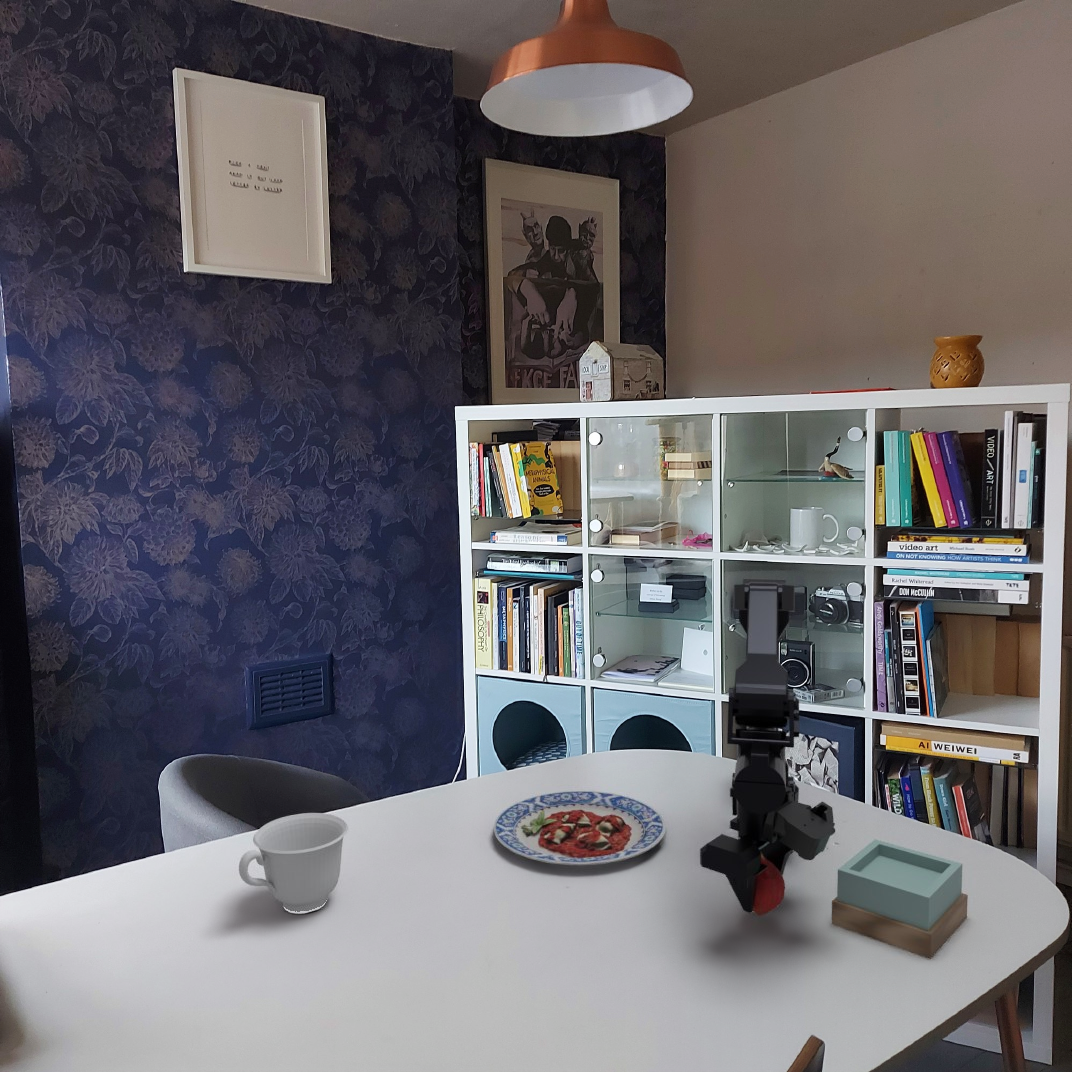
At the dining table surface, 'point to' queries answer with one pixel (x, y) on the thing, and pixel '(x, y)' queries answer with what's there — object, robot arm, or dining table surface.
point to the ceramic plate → (579, 828)
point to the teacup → (298, 858)
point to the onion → (768, 888)
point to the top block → (900, 883)
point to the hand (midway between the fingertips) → (760, 901)
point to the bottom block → (901, 927)
